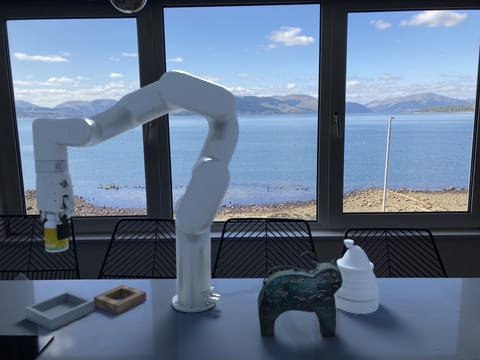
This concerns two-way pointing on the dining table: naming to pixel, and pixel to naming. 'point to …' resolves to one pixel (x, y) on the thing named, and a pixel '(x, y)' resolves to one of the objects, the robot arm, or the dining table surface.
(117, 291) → the socket block
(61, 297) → the tray
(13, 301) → the dining table surface
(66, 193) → the robot arm
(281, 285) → the green animal figurine
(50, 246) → the supplement bottle
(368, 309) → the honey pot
